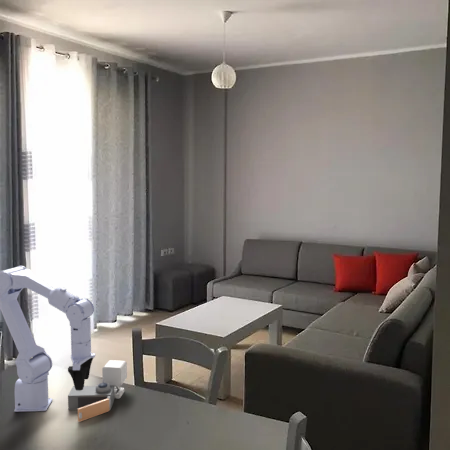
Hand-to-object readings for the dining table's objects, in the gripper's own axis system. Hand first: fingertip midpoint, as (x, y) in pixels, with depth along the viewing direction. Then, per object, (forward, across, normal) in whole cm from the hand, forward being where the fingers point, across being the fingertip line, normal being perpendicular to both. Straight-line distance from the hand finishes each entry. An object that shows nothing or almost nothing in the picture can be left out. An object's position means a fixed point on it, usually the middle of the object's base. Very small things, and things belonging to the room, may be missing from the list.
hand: (82, 384), depth 156 cm
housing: (+9, +6, -2) cm, 11 cm away
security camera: (+10, +14, -8) cm, 18 cm away
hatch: (+9, -2, -4) cm, 10 cm away
